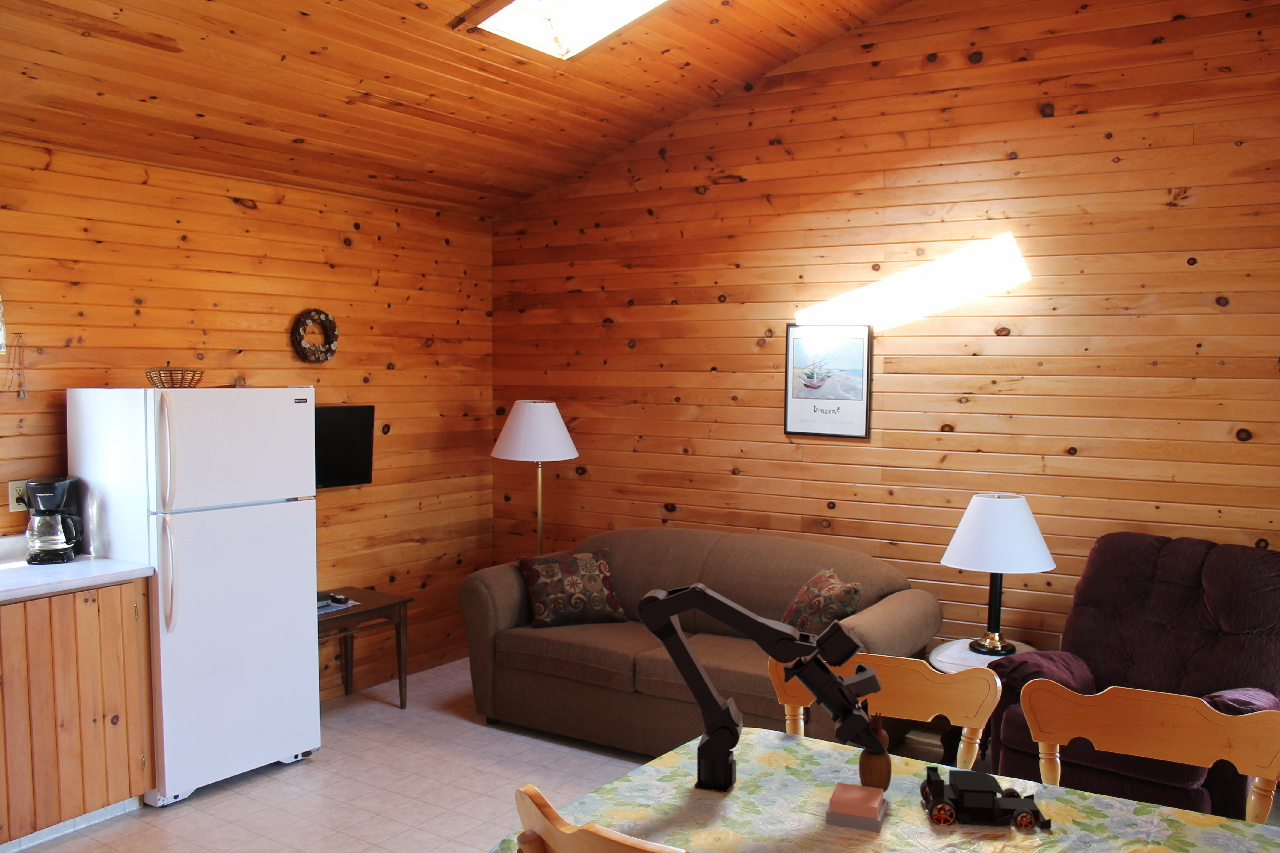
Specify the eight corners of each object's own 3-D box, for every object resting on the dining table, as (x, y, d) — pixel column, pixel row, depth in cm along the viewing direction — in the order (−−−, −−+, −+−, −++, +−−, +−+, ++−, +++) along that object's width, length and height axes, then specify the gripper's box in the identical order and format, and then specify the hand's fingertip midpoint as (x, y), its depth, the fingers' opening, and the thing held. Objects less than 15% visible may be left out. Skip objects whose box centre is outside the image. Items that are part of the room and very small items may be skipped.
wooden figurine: (892, 799, 172) (893, 716, 171) (858, 796, 173) (860, 714, 172) (890, 784, 179) (891, 704, 178) (858, 781, 180) (859, 702, 179)
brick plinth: (826, 823, 165) (826, 800, 165) (835, 802, 174) (835, 780, 173) (879, 832, 162) (879, 809, 162) (886, 810, 170) (886, 788, 170)
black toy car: (1051, 832, 162) (1051, 790, 162) (929, 826, 165) (929, 784, 165) (1033, 806, 173) (1033, 765, 173) (919, 800, 175) (919, 761, 175)
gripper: (856, 669, 166) (921, 737, 165) (853, 641, 185) (912, 702, 183) (809, 710, 168) (872, 778, 167) (811, 678, 187) (868, 739, 185)
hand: (883, 747), depth 175 cm, fingers closed on wooden figurine, 5 cm apart
